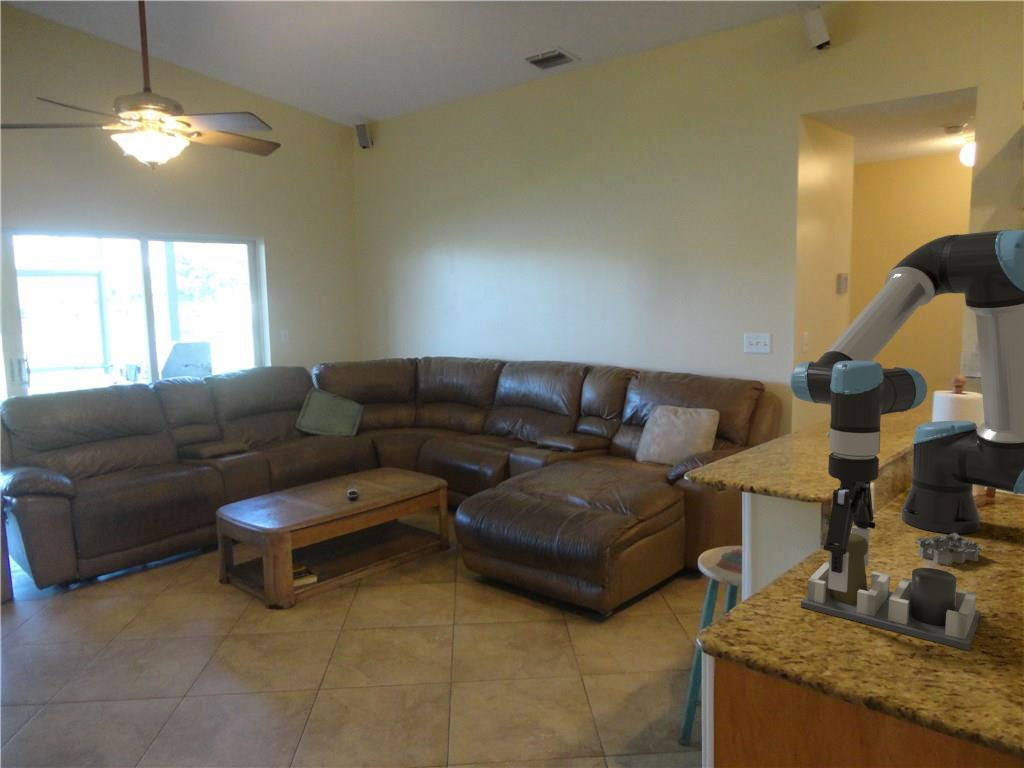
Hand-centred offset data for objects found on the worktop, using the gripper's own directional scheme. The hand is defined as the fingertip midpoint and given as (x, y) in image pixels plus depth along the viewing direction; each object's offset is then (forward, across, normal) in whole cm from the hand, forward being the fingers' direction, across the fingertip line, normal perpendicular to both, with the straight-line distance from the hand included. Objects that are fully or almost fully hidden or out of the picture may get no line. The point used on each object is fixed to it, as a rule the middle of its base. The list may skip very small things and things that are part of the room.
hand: (849, 576), depth 119 cm
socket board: (+5, 0, +6) cm, 8 cm away
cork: (+4, 0, 0) cm, 4 cm away
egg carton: (+5, -33, +10) cm, 35 cm away
